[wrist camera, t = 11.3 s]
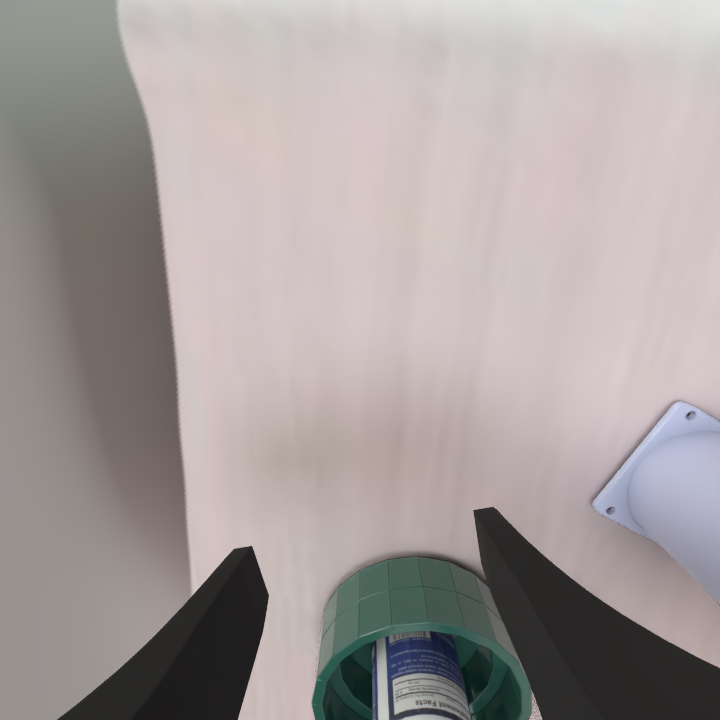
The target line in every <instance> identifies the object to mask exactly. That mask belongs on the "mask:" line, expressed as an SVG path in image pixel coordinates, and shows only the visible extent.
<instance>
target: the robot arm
mask: <svg viewBox="0 0 720 720" xmlns="http://www.w3.org/2000/svg"><path fill="white" fill-rule="evenodd" d="M689 412H690V415H689V416H687V414H688V413H689ZM686 416H687V417H686ZM592 506H593V508H594V509H595V510H596V511H597V512H598V513H599V514H601V515H603V516H605V517H607V518H609V519H611V520H613V521H615V522H617V523H619V524H621V525H623V526H625V527H626V528H628V529H630V530H632V531H634V532H636V533H638V534H640V535H642V536H644V537H646V538H648V539H650V540H652V541H654V542H656V543H658V544H659V545H660V546H661V547H662V548H663V549H664V550H665V551H666V552H667V553H668V554H669V555H670V556H671V557H672V558H673V559H674V560H675V561H676V562H677V563H678V564H679V565H680V566H681V567H682V568H683V569H684V570H685V571H686V572H687V573H688V574H689V575H690V576H691V577H692V578H693V579H694V580H695V581H696V582H697V583H698V584H699V585H700V586H701V587H702V588H703V589H704V590H705V591H706V592H707V593H708V594H709V595H710V596H711V597H712V598H713V599H714V600H715V601H716V602H717V603H718V604H719V605H720V421H718V420H717V419H715V418H713V417H711V416H710V415H708V414H706V413H704V412H703V411H701V410H699V409H697V408H696V407H694V406H692V405H690V404H688V403H686V402H684V401H678V402H676V403H674V404H673V405H672V406H671V407H670V409H669V410H668V411H667V412H666V413H665V415H664V416H663V417H662V418H661V419H660V421H659V422H658V423H657V424H656V426H655V427H654V428H653V429H652V430H651V432H650V433H649V434H648V435H647V436H646V438H645V439H644V440H643V441H642V443H641V444H640V445H639V446H638V447H637V449H636V450H635V451H634V452H633V453H632V455H631V456H630V457H629V458H628V460H627V461H626V462H625V463H624V464H623V466H622V467H621V468H620V469H619V470H618V472H617V473H616V474H615V475H614V477H613V478H612V479H611V480H610V481H609V483H608V484H607V485H606V486H605V487H604V489H603V490H602V491H601V492H600V494H599V495H598V496H597V497H596V498H595V500H594V501H593V504H592ZM609 507H611V508H610V509H609V510H607V509H608V508H609ZM473 511H474V517H475V524H476V531H477V537H478V544H479V551H480V558H481V564H482V567H483V570H484V573H485V576H486V580H487V583H488V586H489V589H490V592H491V595H492V598H493V600H494V603H495V605H496V607H497V610H498V612H499V614H500V617H501V619H502V621H503V624H504V626H505V628H506V630H507V633H508V635H509V637H510V640H511V642H512V644H513V647H514V649H515V651H516V653H517V656H518V658H519V660H520V663H521V665H522V667H523V669H524V672H525V674H526V676H527V679H528V681H529V684H530V686H531V689H532V691H533V694H534V696H535V699H536V702H537V704H538V707H539V710H540V713H541V716H542V719H543V720H720V668H718V667H716V666H714V665H712V664H710V663H708V662H706V661H704V660H702V659H700V658H698V657H696V656H694V655H692V654H690V653H688V652H687V651H685V650H683V649H681V648H679V647H677V646H675V645H673V644H672V643H670V642H668V641H666V640H664V639H662V638H661V637H659V636H657V635H656V634H654V633H652V632H651V631H649V630H647V629H646V628H644V627H642V626H641V625H639V624H637V623H636V622H634V621H632V620H631V619H629V618H627V617H626V616H624V615H622V614H621V613H619V612H618V611H616V610H615V609H613V608H612V607H610V606H609V605H607V604H606V603H604V602H603V601H601V600H600V599H599V598H597V597H596V596H594V595H593V594H592V593H590V592H589V591H587V590H586V589H585V588H583V587H582V586H581V585H579V584H578V583H577V582H575V581H574V580H573V579H571V578H570V577H569V576H568V575H566V574H565V573H564V572H563V571H562V570H560V569H559V568H558V567H557V566H555V565H554V564H553V563H552V562H551V561H549V560H548V559H547V558H546V557H545V556H544V555H543V554H541V553H540V552H539V551H538V550H537V549H536V548H535V547H534V546H533V545H532V544H530V543H529V542H528V541H527V540H526V539H525V538H524V537H523V536H522V535H521V534H520V533H519V532H518V531H517V530H516V529H515V528H514V527H513V526H512V525H511V524H510V523H509V522H508V521H507V520H506V519H505V518H504V517H503V516H502V515H501V514H500V512H499V511H498V510H497V509H495V508H494V507H490V508H484V509H478V510H473ZM268 598H269V595H268V592H267V589H266V586H265V583H264V580H263V577H262V574H261V571H260V568H259V565H258V562H257V559H256V556H255V553H254V550H253V547H252V546H249V547H243V548H237V549H234V550H233V551H232V552H231V553H230V554H229V555H228V556H227V557H226V558H225V559H224V561H223V562H222V563H221V564H220V565H219V566H218V567H217V569H216V570H215V571H214V572H213V573H212V574H211V575H210V577H209V578H208V579H207V580H206V581H205V582H204V583H203V585H202V586H201V587H200V588H199V589H198V590H197V591H196V592H195V594H194V595H193V596H192V597H191V598H190V599H189V600H188V601H187V603H186V604H185V605H184V606H183V607H182V608H181V609H180V610H179V611H178V612H177V613H176V614H175V615H174V616H173V617H172V618H171V619H170V620H169V621H168V623H167V624H166V625H165V626H164V627H163V628H162V629H161V630H160V631H159V632H158V633H157V634H156V635H155V636H154V637H153V638H152V639H151V640H150V641H149V642H148V643H147V644H146V645H145V646H144V647H143V648H142V649H141V650H140V651H138V652H137V653H136V654H135V655H134V656H133V657H132V658H131V659H130V660H129V661H128V662H126V663H125V664H124V665H123V666H122V667H121V668H120V669H119V670H118V671H116V673H114V674H113V675H112V676H111V677H109V678H108V679H107V680H106V681H105V682H104V683H102V684H101V685H100V686H99V687H97V688H96V689H95V690H94V691H93V692H91V693H90V694H89V695H88V696H87V697H85V698H84V699H83V700H82V701H81V702H79V703H78V704H77V705H76V706H74V707H73V708H72V709H71V710H69V711H68V712H67V713H65V714H64V715H63V716H61V717H60V718H59V719H57V720H238V717H239V713H240V710H241V706H242V703H243V699H244V696H245V692H246V689H247V685H248V682H249V679H250V675H251V672H252V668H253V665H254V661H255V658H256V654H257V651H258V647H259V644H260V640H261V636H262V633H263V628H264V622H265V617H266V611H267V604H268Z"/></svg>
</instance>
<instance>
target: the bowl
mask: <svg viewBox="0 0 720 720" xmlns="http://www.w3.org/2000/svg"><path fill="white" fill-rule="evenodd" d="M421 631H433V632H439V633H445V634H452V635H453V638H454V642H455V646H456V650H457V655H458V659H459V663H460V668H461V672H462V676H463V681H464V685H465V690H466V694H467V699H468V704H469V708H470V712H471V717H472V720H529V718H530V715H531V712H532V698H531V686H530V684H529V681H528V679H527V676H526V674H525V672H524V669H523V667H522V665H521V663H520V660H519V658H518V656H517V653H516V651H515V649H514V647H513V644H512V642H511V640H510V637H509V635H508V633H507V630H506V628H505V626H504V624H503V621H502V619H501V617H500V614H499V612H498V610H497V607H496V605H495V603H494V600H493V598H492V595H491V592H490V589H489V587H488V586H486V585H485V584H484V583H483V582H482V581H481V580H480V579H479V578H478V577H477V576H476V575H475V574H473V573H471V572H469V571H467V570H465V569H463V568H461V567H459V566H456V565H454V564H452V563H450V562H447V561H442V560H436V559H430V558H424V557H409V558H398V559H389V560H385V561H382V562H379V563H377V564H374V565H371V566H369V567H366V568H363V569H361V570H359V571H358V572H357V573H355V574H354V575H353V576H351V577H350V578H349V579H348V580H346V581H345V582H344V583H342V584H341V585H340V586H339V587H338V588H337V590H336V591H335V593H334V594H333V596H332V597H331V599H330V600H329V602H328V603H327V605H326V606H325V610H324V615H323V620H322V625H321V631H320V639H319V647H318V655H317V663H316V671H315V679H314V686H313V694H312V708H313V712H314V716H315V720H373V706H372V641H375V640H378V639H381V638H384V637H387V636H390V635H392V634H398V633H409V632H421Z"/></svg>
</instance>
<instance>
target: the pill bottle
mask: <svg viewBox="0 0 720 720" xmlns="http://www.w3.org/2000/svg"><path fill="white" fill-rule="evenodd" d="M372 706H373V720H472V717H471V712H470V708H469V704H468V699H467V694H466V690H465V685H464V681H463V676H462V672H461V668H460V663H459V659H458V655H457V650H456V646H455V642H454V638H453V635H452V634H445V633H439V632H433V631H421V632H409V633H398V634H392V635H390V636H387V637H384V638H381V639H378V640H375V641H372Z"/></svg>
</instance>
